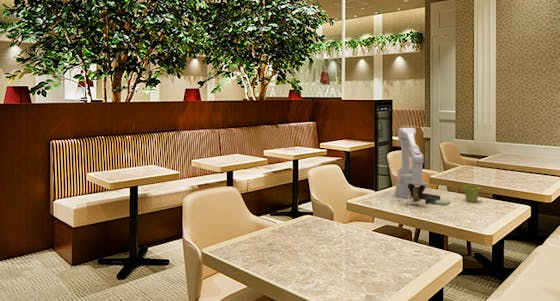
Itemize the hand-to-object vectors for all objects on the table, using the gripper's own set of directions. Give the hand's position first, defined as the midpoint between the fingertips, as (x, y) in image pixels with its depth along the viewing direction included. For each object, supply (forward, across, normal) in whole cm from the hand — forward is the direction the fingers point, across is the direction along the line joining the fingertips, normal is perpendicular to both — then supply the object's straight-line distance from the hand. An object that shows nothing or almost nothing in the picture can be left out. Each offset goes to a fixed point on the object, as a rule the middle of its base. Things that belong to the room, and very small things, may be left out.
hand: (416, 197), depth 253 cm
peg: (+2, 0, 0) cm, 2 cm away
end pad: (+4, +10, +12) cm, 17 cm away
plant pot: (+5, +22, +29) cm, 37 cm away
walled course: (+4, +2, +11) cm, 12 cm away
